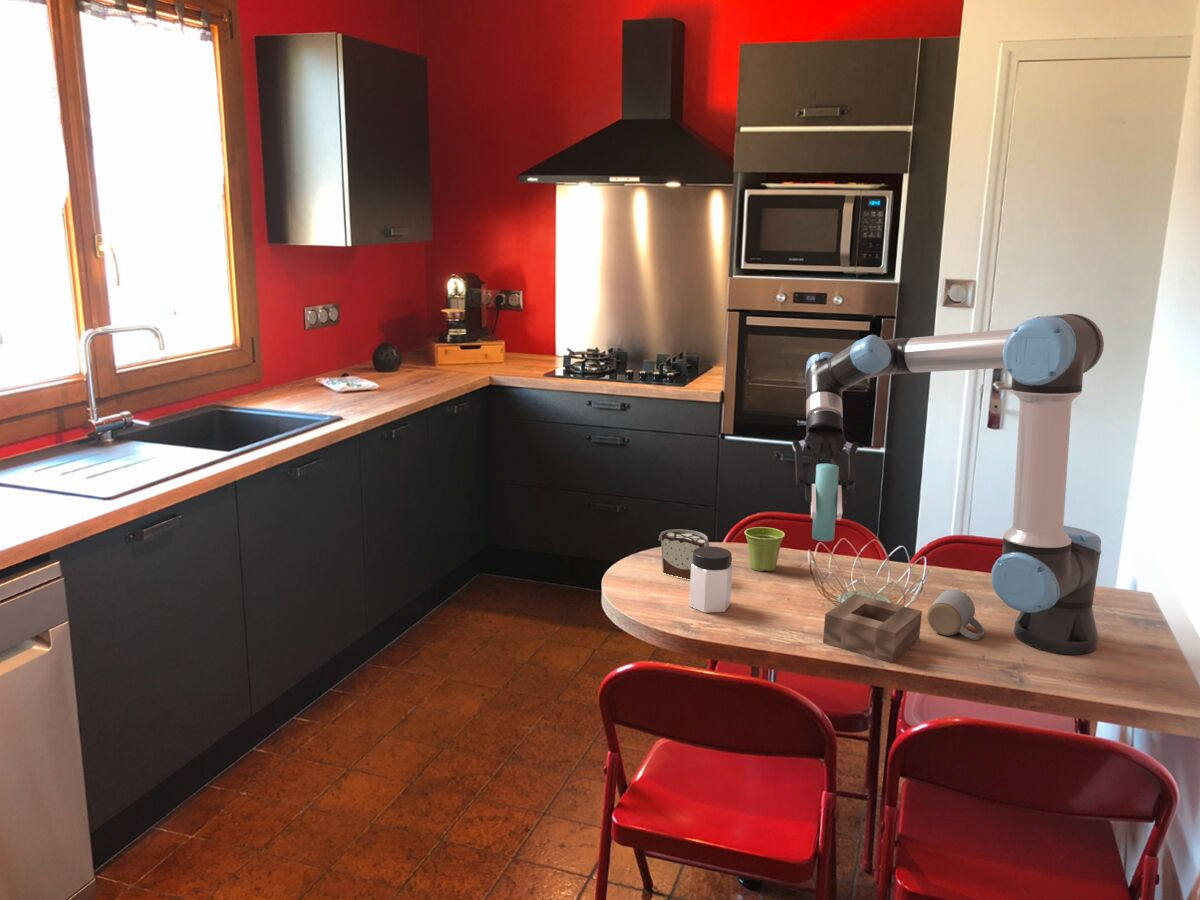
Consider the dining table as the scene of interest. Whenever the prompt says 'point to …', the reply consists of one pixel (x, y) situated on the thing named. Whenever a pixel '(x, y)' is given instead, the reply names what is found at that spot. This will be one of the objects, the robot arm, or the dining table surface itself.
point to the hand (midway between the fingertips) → (826, 515)
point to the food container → (680, 550)
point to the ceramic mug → (954, 615)
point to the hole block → (872, 627)
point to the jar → (710, 579)
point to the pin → (825, 502)
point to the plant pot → (763, 547)
